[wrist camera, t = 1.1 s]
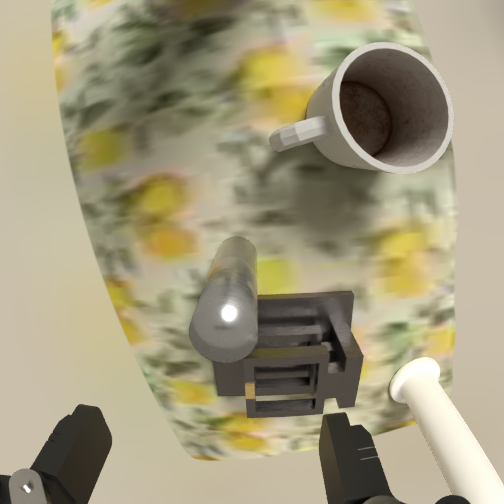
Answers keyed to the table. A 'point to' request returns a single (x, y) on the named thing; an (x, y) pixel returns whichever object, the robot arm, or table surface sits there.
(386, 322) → the table surface
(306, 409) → the bracket
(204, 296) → the tube
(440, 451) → the candle
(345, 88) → the mug
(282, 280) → the table surface
